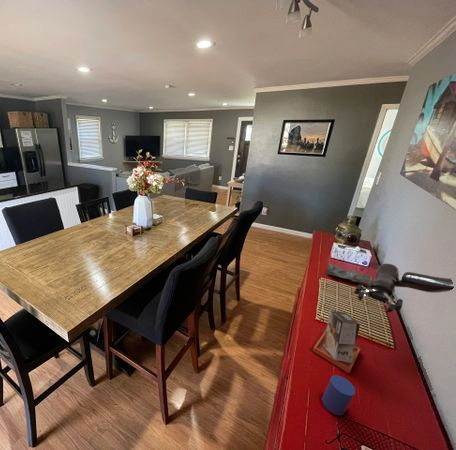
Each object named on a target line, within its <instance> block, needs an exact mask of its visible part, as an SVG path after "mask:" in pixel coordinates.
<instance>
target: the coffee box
mask: <svg viewBox="0 0 456 450" xmlns="http://www.w3.org/2000/svg"><path fill="white" fill-rule="evenodd" d="M326 323H327V324H326V329H325V330H326V334H325V339H324V345H323V346H324V347H325V349H326V350H327V351H328V352H329V353H330V354H331V356H332V357H333V358H334V359H335V360H336V361H344V362H351V363H352V361H353V356H354V351H355V347H357V342H358V338H359V337H358V336H359V331H360V327H361V323H359V322H358V321H357V320H355V319H354V318H353V317H352V316H350V315H349V314H348V313H347V312H344V311H336V310H334V311H333V310H329V313H328V319H327V322H326Z"/></svg>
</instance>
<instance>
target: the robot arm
mask: <svg viewBox="0 0 456 450" xmlns="http://www.w3.org/2000/svg"><path fill="white" fill-rule="evenodd" d="M375 275H376V276H375V277H374V279H373V281H372V282H371V284H370V285H369V286H368V287H366V286H364V285H363V284H362V283H359V284H358V285H357V286H356V287H355V289H354V292H353V294H355V295H357V299H358V301H360V302H362V300H363V298H366V299H373V300H375V301H378V302H380V303H382V304H383V305H384V306H385V307H387V309H386V313H393V312H394V310H395V311H396V312H400V311H401V309H402V307H403V299H401V298H398V299H396V298H394V297H393V295H394V294H395V290H396V288H406V289H412V290H416V291H421V292H425V293H430V294H438V293H447V292H451V291H450V290H452V289H453V288H454V286H453V282H452V280H451V279H452V278H450V277H449V278H448V277H441V276H440V277H439V276H434V275H433V276H432V275H428V274H423V273H418V272H413V271H407V272H404V273H403V274H402V276H401V278H400V271H399V268H398V267H397V266H396V265H395V264H392V263H382V264H380V265H378V267H377V269H376V274H375Z"/></svg>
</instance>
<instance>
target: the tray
mask: <svg viewBox="0 0 456 450" xmlns="http://www.w3.org/2000/svg"><path fill="white" fill-rule="evenodd" d="M325 334H326V329H325V330H324V332H323V333H322V334H321V336H320V337H319V338H318V340H317V342H316V343H315V344H314V346H313V348H312V352H313V353H314V354H317V355H318V356H320V357H322V358H323V359H325V360H327V361H328V362H330V363H331V364H333V365H334V366H336V367H338V368H339V369H341V370H343V371H344V372H346V373H347V374H350V373H351V370H352V369H353V366H354V364H355V362H356V360H357V358H358V355H359V353H360V351H361V348H360V347H359V346H356V347H355V351H354V356H353V361H352V363H351V362H344V361H336V360H335V359H334V358H333V357H332V356H331V354H330V353H329V352H328V351H327V350H326V349H325V347H324V346H323V345H324V339H325Z"/></svg>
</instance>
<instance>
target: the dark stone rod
mask: <svg viewBox="0 0 456 450" xmlns="http://www.w3.org/2000/svg"><path fill="white" fill-rule="evenodd" d="M325 270H326V275H327V276H333V277H338V278H341V279H346V280H350V281H352V282H354V283H359V284H362V285H363V286H364V287H370V285H371V282H372V281H373V280H374V279H373V278H372V275H368V274H364V273H363V274H362V273H358V272H355V271H353V270H345V269H344V268H341V267H339V266H337V265H334V264H333V263H329V264H328V267H326V268H325Z"/></svg>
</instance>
